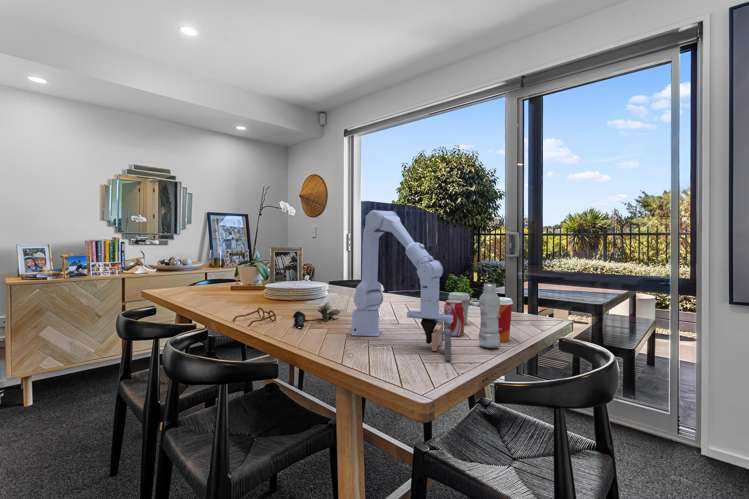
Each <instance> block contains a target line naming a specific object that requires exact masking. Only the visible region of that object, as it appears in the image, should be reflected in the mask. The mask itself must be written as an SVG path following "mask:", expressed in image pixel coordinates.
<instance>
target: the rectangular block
mask: <svg viewBox="0 0 749 499" xmlns="http://www.w3.org/2000/svg"><path fill="white" fill-rule="evenodd" d="M440 330H441V331H442V325H438V324H437V325H436V326H435V329H434V331H433V333H432V343H431V351H433V352H437V351H438V349H439V347H440V344H441V343H442V334H440Z"/></svg>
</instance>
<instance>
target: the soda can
mask: <svg viewBox="0 0 749 499" xmlns="http://www.w3.org/2000/svg"><path fill="white" fill-rule="evenodd" d="M462 302H463V301H461V300H449V299H447V300H445V303H444V305H443V314H445V315H451V316H453V322H452V323H448V322H443V331H445V329H449V330H450V337H461V335H464V333H465V325H464V305H463V303H462Z"/></svg>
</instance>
